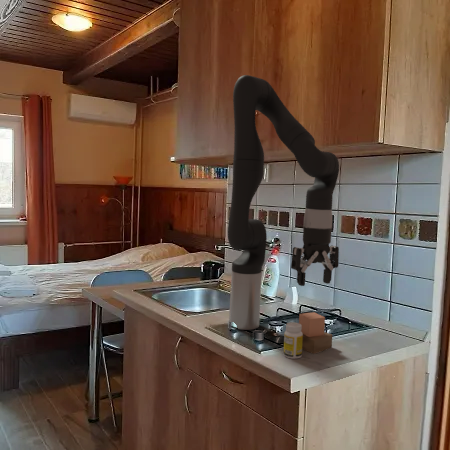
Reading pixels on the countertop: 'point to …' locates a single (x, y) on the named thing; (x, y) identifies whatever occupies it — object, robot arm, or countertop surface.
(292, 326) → the supplement bottle
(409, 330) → the countertop surface
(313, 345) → the walnut block
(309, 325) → the terracotta cube
